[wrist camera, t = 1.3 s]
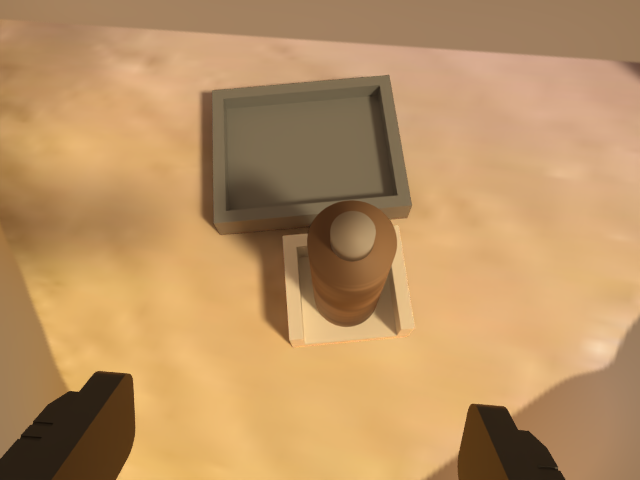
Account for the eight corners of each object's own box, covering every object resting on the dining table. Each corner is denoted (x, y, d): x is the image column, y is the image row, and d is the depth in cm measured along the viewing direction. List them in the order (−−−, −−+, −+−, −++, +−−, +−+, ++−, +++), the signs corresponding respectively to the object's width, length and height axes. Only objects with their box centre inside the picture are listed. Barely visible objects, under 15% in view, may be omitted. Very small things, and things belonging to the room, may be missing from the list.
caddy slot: (393, 241, 41) (398, 225, 38) (407, 336, 38) (415, 328, 35) (286, 251, 41) (282, 235, 37) (293, 347, 38) (289, 340, 35)
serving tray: (386, 92, 46) (389, 75, 44) (407, 217, 42) (411, 205, 39) (218, 107, 46) (212, 90, 44) (220, 234, 41) (213, 223, 39)
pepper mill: (373, 262, 39) (393, 185, 27) (382, 323, 37) (407, 272, 25) (311, 268, 39) (302, 193, 27) (316, 330, 37) (309, 281, 25)
